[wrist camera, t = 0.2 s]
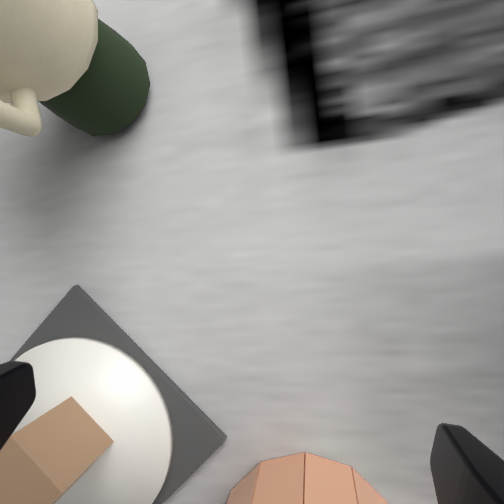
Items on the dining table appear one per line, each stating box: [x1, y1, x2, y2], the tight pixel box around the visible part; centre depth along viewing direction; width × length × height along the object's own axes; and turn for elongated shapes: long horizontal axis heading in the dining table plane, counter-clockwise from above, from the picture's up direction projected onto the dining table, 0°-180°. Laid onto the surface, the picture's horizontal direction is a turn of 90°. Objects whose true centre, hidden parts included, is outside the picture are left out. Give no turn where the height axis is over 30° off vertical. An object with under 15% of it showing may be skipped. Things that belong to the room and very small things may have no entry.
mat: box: [9, 285, 227, 504], centre depth 25 cm, size 14×14×1 cm
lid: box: [0, 337, 173, 504], centre depth 22 cm, size 13×13×6 cm
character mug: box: [0, 0, 150, 136], centre depth 18 cm, size 11×7×13 cm, turn 13°
